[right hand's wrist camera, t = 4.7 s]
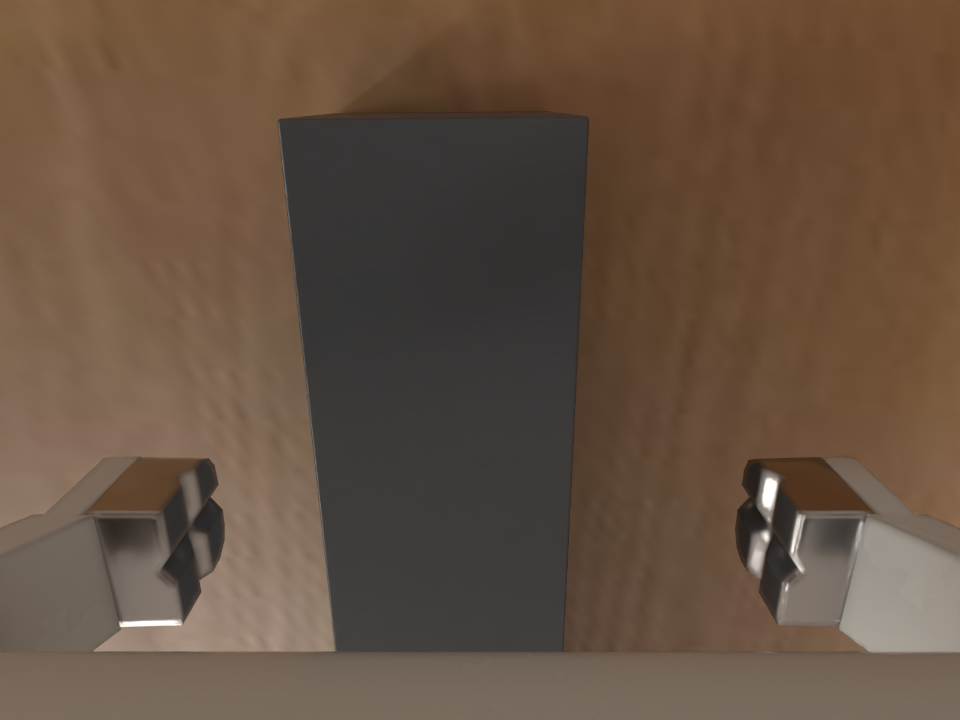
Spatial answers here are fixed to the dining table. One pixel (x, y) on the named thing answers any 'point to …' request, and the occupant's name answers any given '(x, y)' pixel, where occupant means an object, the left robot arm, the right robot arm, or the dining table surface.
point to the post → (440, 368)
